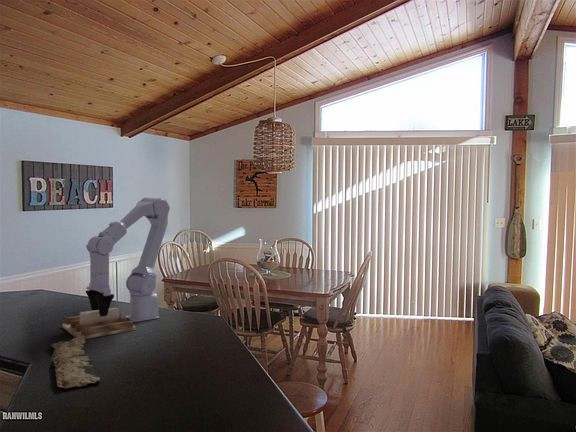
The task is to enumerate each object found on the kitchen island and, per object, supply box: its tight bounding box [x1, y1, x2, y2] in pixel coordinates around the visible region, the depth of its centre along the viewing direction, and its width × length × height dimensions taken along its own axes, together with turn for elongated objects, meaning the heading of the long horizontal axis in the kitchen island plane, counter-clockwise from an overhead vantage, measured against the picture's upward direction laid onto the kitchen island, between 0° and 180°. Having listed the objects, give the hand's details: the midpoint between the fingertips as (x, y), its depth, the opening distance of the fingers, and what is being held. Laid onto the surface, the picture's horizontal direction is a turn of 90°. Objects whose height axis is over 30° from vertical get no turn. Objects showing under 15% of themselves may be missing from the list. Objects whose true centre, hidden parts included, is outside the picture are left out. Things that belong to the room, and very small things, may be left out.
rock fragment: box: [50, 335, 102, 389], centre depth 120 cm, size 34×10×3 cm, turn 32°
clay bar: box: [79, 307, 120, 324], centre depth 152 cm, size 12×2×5 cm, turn 131°
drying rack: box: [61, 313, 137, 340], centre depth 152 cm, size 18×17×3 cm
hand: (99, 313), depth 152 cm, fingers open, 7 cm apart
